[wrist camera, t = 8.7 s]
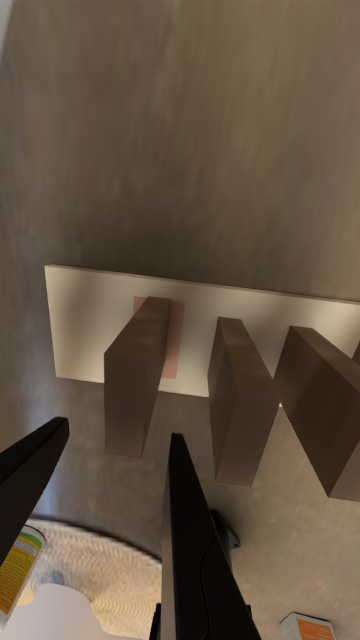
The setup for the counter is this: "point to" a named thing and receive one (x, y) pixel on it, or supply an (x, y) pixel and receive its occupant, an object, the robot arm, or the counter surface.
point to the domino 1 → (134, 377)
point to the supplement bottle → (18, 570)
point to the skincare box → (306, 628)
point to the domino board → (180, 321)
